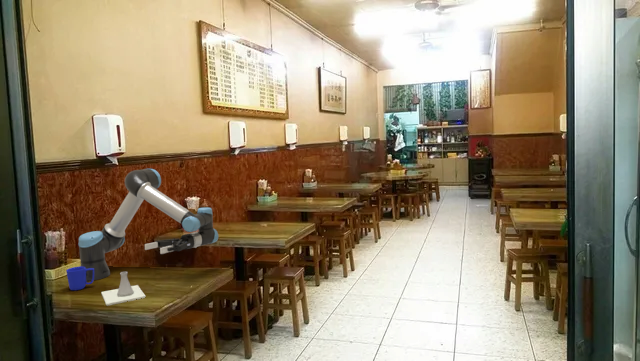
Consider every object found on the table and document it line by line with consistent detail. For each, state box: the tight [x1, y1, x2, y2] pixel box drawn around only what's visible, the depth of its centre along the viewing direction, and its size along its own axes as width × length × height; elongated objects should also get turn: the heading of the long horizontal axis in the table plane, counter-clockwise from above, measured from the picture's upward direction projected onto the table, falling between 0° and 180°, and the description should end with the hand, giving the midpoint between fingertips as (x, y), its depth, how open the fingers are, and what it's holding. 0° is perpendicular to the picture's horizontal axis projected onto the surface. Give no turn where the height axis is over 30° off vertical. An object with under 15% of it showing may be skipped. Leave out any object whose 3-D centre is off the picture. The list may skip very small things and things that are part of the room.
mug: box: [66, 266, 95, 291], centre depth 224 cm, size 8×12×10 cm
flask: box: [117, 271, 134, 296], centre depth 209 cm, size 7×7×10 cm
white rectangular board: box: [101, 284, 146, 307], centre depth 209 cm, size 20×16×1 cm
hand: (152, 249), depth 218 cm, fingers open, 13 cm apart
